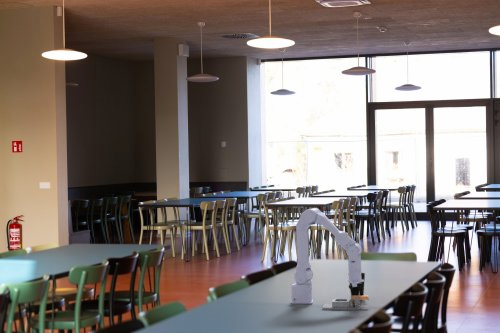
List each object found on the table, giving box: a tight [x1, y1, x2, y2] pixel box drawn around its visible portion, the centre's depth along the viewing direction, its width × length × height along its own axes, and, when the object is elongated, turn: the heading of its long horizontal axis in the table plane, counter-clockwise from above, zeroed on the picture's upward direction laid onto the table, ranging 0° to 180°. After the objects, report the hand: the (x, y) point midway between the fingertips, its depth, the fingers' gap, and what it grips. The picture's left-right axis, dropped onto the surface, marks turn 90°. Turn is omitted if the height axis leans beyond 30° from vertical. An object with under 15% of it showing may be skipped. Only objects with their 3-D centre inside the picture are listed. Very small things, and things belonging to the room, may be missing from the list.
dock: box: [322, 297, 361, 311], centre depth 352 cm, size 16×10×5 cm, turn 80°
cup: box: [348, 272, 366, 300], centre depth 372 cm, size 8×8×12 cm
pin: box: [351, 295, 369, 301], centre depth 350 cm, size 7×2×2 cm, turn 80°
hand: (355, 300), depth 359 cm, fingers closed on peg, 4 cm apart
